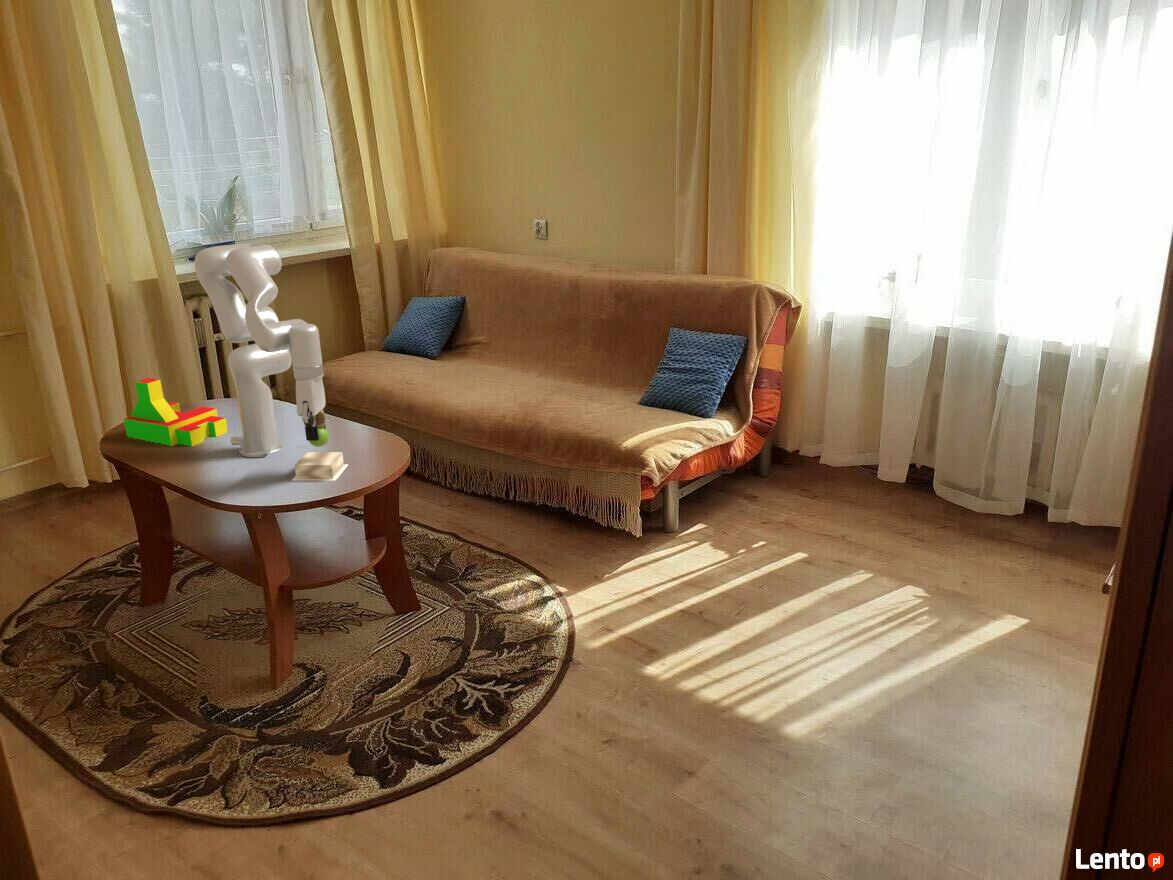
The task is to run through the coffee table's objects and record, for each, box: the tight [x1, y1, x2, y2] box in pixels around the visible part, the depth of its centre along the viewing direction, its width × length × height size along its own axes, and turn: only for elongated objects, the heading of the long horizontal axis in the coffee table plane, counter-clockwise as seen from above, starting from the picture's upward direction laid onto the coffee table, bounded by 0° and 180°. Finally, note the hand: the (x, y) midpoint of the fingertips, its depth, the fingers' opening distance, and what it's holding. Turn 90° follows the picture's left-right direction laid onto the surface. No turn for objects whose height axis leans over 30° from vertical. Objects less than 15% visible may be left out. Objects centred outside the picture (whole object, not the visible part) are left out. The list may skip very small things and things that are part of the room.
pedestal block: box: [294, 451, 345, 479], centre depth 253 cm, size 10×10×4 cm
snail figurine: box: [308, 411, 330, 448], centre depth 249 cm, size 5×6×12 cm
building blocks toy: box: [123, 377, 229, 447], centre depth 287 cm, size 19×25×18 cm
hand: (316, 435), depth 250 cm, fingers closed on snail figurine, 5 cm apart
